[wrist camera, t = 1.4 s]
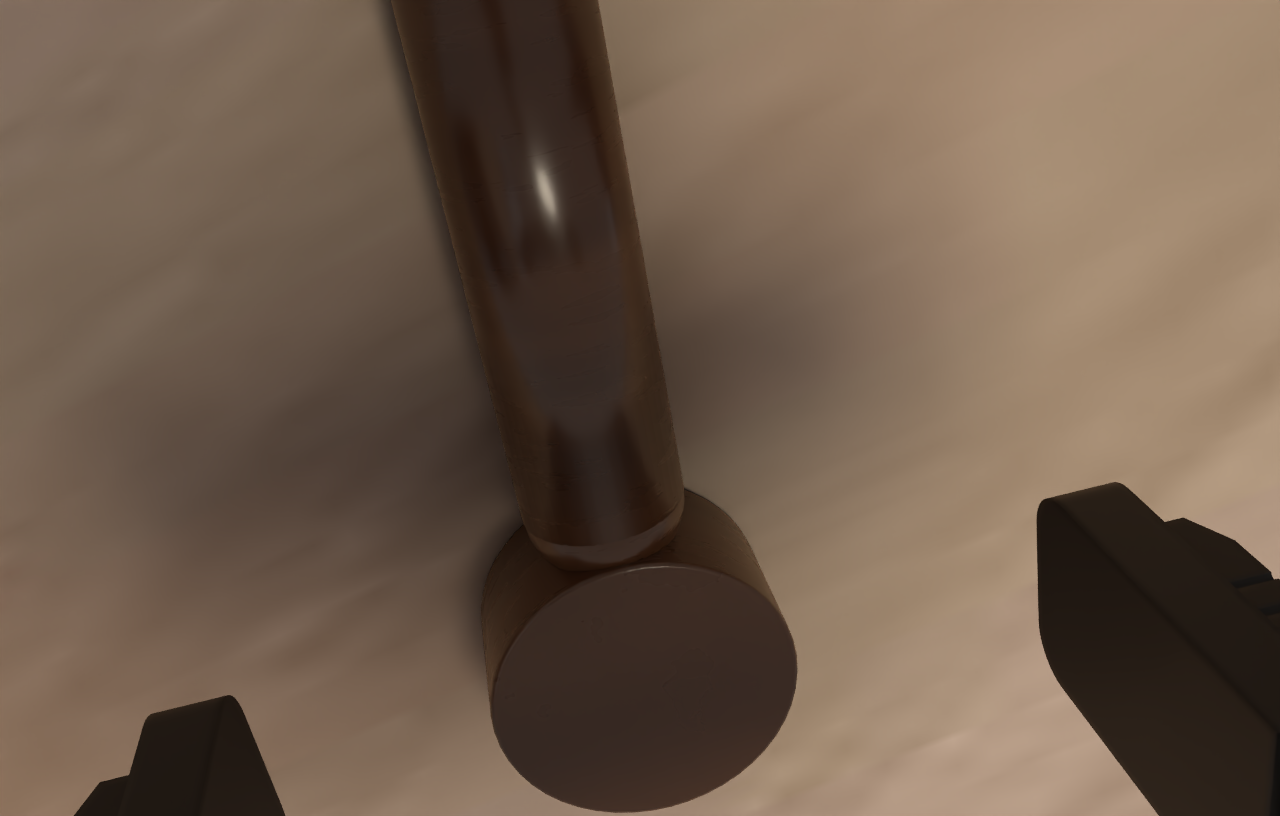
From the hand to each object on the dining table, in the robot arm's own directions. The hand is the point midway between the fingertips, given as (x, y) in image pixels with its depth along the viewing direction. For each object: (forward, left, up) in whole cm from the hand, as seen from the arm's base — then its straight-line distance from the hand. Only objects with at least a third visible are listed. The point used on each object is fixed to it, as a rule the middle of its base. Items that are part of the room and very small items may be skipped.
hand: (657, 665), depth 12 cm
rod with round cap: (0, 0, -8) cm, 8 cm away
